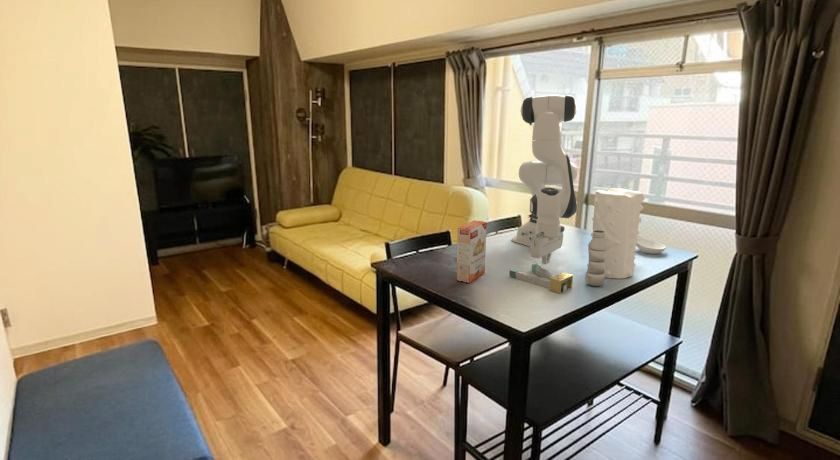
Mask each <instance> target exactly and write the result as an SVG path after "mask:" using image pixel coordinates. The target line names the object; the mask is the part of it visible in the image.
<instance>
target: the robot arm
mask: <svg viewBox="0 0 840 460" xmlns="http://www.w3.org/2000/svg"><path fill="white" fill-rule="evenodd" d="M577 113H578V104H577V101H576V98H575V97H574V96H573V95H569V94H565V95H561V94H560V95H559V94H549V95H539V96H529V97H526V98H524V100H523V101H522V104H521V106H520V115H521V118H522V120H523V121H524V122H525V123H526V124H529V126H532V124H534V125H533V129H532V137H531V138H532V140H531V142H532V143H531V147H532V148H531V150H532V154H533V156H534V158H535V159H536V160H530V161H526V162H523V163H522V164H521V165H520V166H519V168H518V177H519V180H520V181H521V183H523V184H524V185H525V186H526V187H527V189H529V191H530V194H531V195H532V196H531V198H530V200H529V203H530V204H529V213H530V214H527V216H528V217H527V219H529V220H528V221H527V222H526V223H525V222H524V224H522V225H521V226H519V227H518V229H517V232H516V235H515V236H513V237H511V241H512V242H515V243H518V244H521V245H525V246H527V247H530V257H532V258H535V259H541V263H542V264H543V265H547V264H549V263H550V262H551V258H552V255H553V252H555V251H557V250H559V249H561V248H562V246H563V241H564V232H565V230H566V229H565V226H564V225H561V220H560V219H561V218H562V219H570V218H572V217H573V216H574V215H575V214H576V213H577V211H578V210H577V209H578V201H577V198H576V194H575V185H574V182H575V181H576V180H577V177H578V170H577V167H576V165H575V164H574V163H573V162H571V160H570V156H569V154H568V153H567V152H565V151H564V149H563V145H562V142H563V141H562V139H563V138H562V136H563V135H562V131H563V129H562V126H563V124H562V122H564V123H566V122H570V121H572V120H573V119H574V118H575V116H576V115H577ZM546 186H559V187H561V190H562V192H560V190H558V189H556V188H553V187H546Z"/></svg>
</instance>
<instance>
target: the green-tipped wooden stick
mask: <svg viewBox="0 0 840 460" xmlns="http://www.w3.org/2000/svg"><path fill="white" fill-rule="evenodd" d="M508 276H509V278H513V279H517V280H520V281H524V282H527V283H529V284H534V285H535V286H540V287H544V288H546V289H548V290H550V280H549V279H546V278H542V277H540V276H539V275H535V274H530V273H528V272H525V271H520V270H518V269H515V268H511V269H510V270H509V275H508ZM567 289H568V287H567V284H565V283H562V284H561V293H562V294H564V293H566V292H567Z"/></svg>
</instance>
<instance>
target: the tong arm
mask: <svg viewBox="0 0 840 460" xmlns="http://www.w3.org/2000/svg"><path fill="white" fill-rule="evenodd" d="M531 272H533V273H535V274H536V276H539V277H542V278H546V279H549V280H550V278H552V277H554V276H555V275H554V274H553V273H551V272H549V271H548V270H547V269H545V268H543V266H541V265H539V264H538V263H533V264H531Z"/></svg>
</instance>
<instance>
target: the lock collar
mask: <svg viewBox="0 0 840 460" xmlns="http://www.w3.org/2000/svg"><path fill="white" fill-rule="evenodd" d="M573 278H574V275H573V274H571V273H568V272H563V271H562V272H560V273H558V274H557V275H554V277H552V278H550V289H549V291H550V292H554V293H556V294H561V293H562V292H561V284H562V283H565V284H567V288H573Z"/></svg>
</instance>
